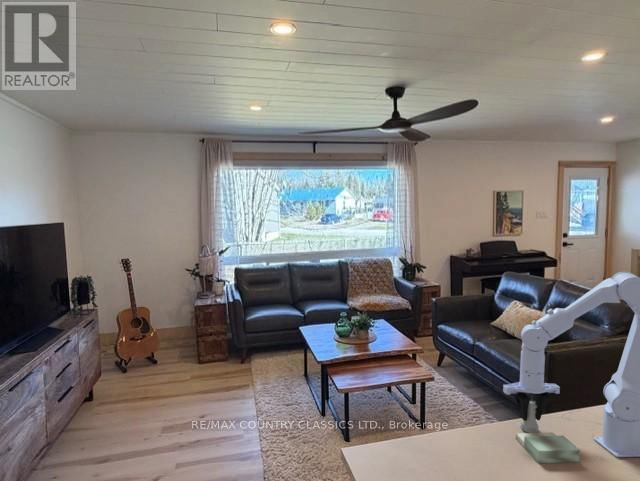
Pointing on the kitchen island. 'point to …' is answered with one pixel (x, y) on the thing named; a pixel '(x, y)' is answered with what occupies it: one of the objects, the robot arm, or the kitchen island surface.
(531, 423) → the rook chess piece
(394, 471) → the kitchen island surface
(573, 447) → the stepped riser
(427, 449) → the kitchen island surface
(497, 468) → the kitchen island surface
